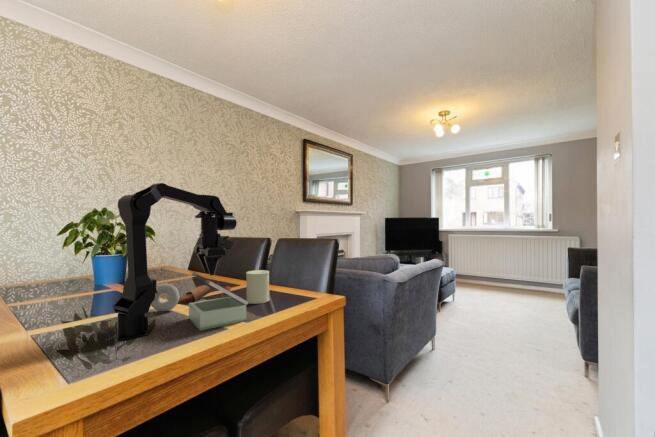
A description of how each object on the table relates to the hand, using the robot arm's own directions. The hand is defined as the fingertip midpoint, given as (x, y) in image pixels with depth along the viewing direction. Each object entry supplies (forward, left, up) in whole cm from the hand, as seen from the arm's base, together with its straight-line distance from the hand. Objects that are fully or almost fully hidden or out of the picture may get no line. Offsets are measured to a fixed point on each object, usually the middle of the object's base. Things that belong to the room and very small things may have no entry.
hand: (209, 274), depth 104 cm
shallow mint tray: (-1, -12, -13) cm, 18 cm away
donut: (-13, +9, -13) cm, 21 cm away
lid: (-1, -12, -3) cm, 12 cm away
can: (+19, +1, -13) cm, 23 cm away
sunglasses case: (0, +22, -14) cm, 26 cm away
